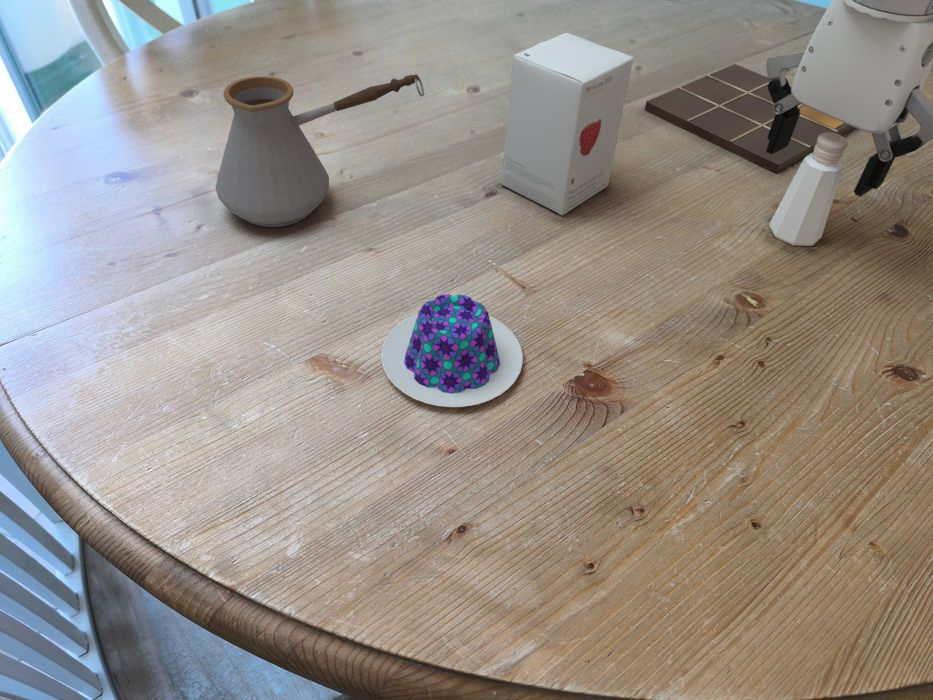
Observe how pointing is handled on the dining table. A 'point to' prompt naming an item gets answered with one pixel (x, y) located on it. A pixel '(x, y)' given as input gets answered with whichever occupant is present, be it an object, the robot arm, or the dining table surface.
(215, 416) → the dining table surface
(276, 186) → the coffee pot
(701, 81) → the board
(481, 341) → the pudding
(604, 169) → the rectangular carton
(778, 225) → the pepper shaker
